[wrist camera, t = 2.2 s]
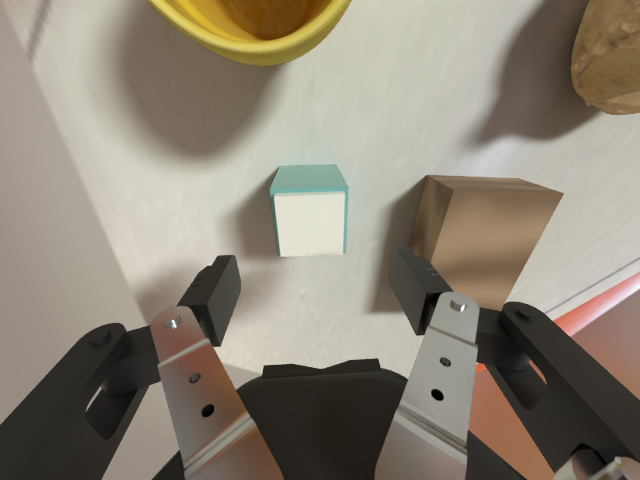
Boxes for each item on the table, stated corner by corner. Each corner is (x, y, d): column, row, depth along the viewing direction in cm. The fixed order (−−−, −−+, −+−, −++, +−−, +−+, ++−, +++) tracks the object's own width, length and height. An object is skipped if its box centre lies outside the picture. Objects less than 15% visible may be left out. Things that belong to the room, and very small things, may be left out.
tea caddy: (279, 165, 21) (268, 191, 15) (336, 164, 22) (349, 189, 15) (284, 217, 24) (276, 260, 17) (335, 216, 24) (347, 257, 17)
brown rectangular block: (425, 174, 23) (454, 189, 18) (515, 177, 23) (563, 193, 19) (396, 290, 29) (411, 322, 25) (466, 290, 30) (494, 321, 26)
